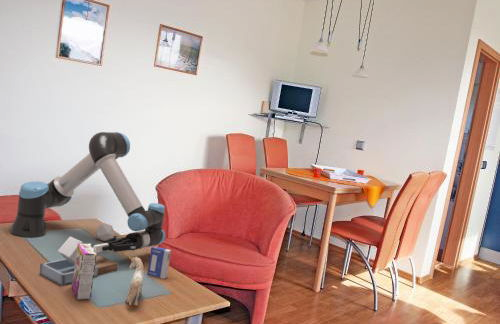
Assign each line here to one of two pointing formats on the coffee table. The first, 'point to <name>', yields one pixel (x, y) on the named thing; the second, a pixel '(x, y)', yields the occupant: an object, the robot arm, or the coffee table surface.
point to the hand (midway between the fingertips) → (94, 249)
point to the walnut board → (105, 265)
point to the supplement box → (70, 250)
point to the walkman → (159, 262)
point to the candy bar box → (84, 271)
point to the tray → (60, 271)
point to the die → (104, 232)
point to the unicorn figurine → (135, 280)
